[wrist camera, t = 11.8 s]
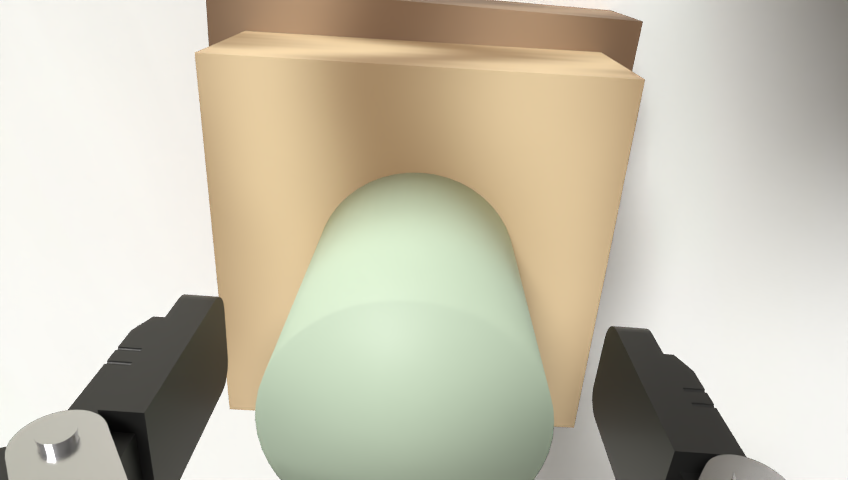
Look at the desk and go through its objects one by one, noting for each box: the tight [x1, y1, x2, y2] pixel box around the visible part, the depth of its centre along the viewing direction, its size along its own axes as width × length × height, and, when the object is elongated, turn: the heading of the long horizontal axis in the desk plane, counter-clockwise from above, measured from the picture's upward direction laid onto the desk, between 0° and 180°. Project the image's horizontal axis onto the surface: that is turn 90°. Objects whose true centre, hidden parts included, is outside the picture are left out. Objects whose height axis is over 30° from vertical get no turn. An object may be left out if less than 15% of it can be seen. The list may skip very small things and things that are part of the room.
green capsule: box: [255, 173, 554, 480], centre depth 13 cm, size 5×5×6 cm
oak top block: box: [195, 31, 645, 428], centre depth 18 cm, size 10×10×4 cm
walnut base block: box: [206, 0, 643, 71], centre depth 21 cm, size 12×12×4 cm
